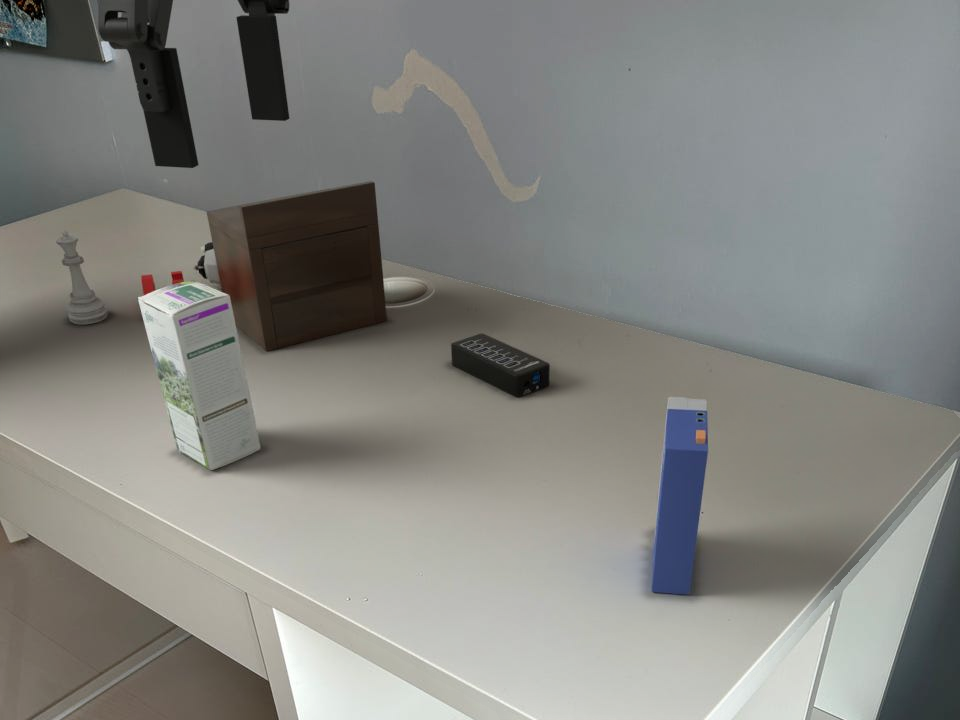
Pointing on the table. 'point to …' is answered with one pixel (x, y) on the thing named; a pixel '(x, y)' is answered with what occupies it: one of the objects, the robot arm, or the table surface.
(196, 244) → the table surface
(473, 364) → the multiport hub
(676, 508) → the walkman
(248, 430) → the syrup box
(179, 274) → the bracket
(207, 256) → the robot toy
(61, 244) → the chess piece
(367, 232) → the wooden drawer cabinet
